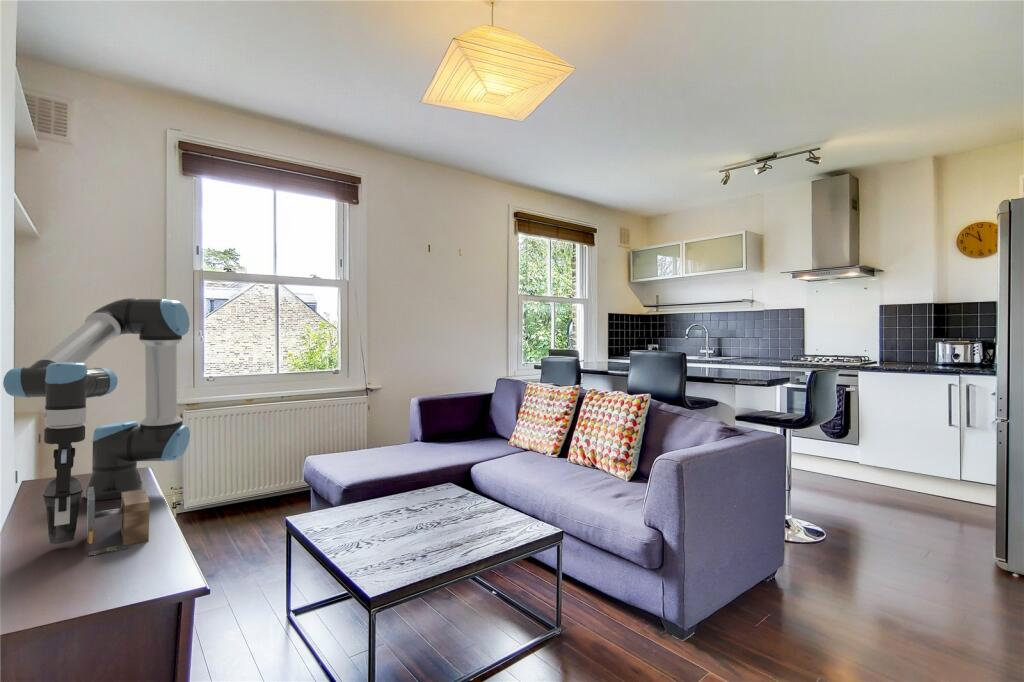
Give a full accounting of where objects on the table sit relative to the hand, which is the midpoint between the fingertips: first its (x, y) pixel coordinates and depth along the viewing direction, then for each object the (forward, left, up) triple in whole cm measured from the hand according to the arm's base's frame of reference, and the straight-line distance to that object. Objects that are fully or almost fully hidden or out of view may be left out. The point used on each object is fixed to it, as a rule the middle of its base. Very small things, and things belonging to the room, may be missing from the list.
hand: (62, 519), depth 123 cm
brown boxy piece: (-8, +8, -7) cm, 13 cm away
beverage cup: (0, 0, -5) cm, 5 cm away
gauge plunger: (-7, +6, -4) cm, 11 cm away
